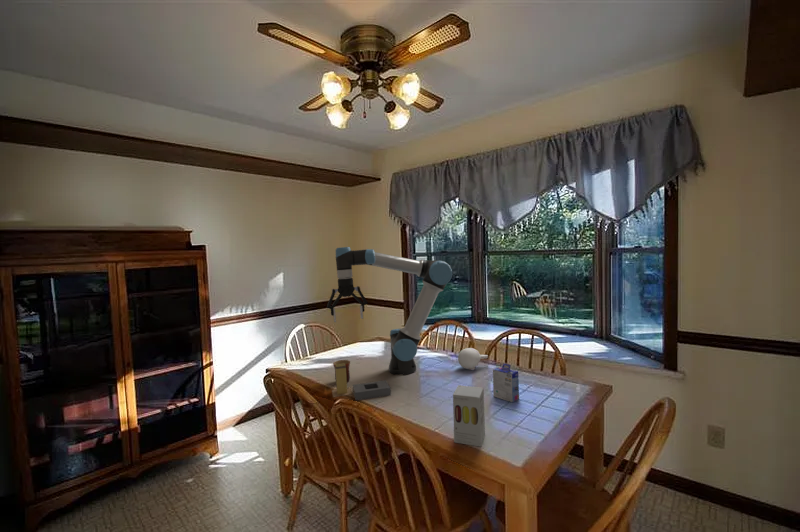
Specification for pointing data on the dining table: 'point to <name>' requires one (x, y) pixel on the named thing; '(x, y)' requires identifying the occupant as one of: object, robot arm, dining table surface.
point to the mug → (346, 368)
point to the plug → (341, 378)
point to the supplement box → (469, 415)
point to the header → (371, 390)
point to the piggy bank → (470, 358)
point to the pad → (342, 394)
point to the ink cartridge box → (505, 383)
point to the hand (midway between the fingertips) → (348, 320)
